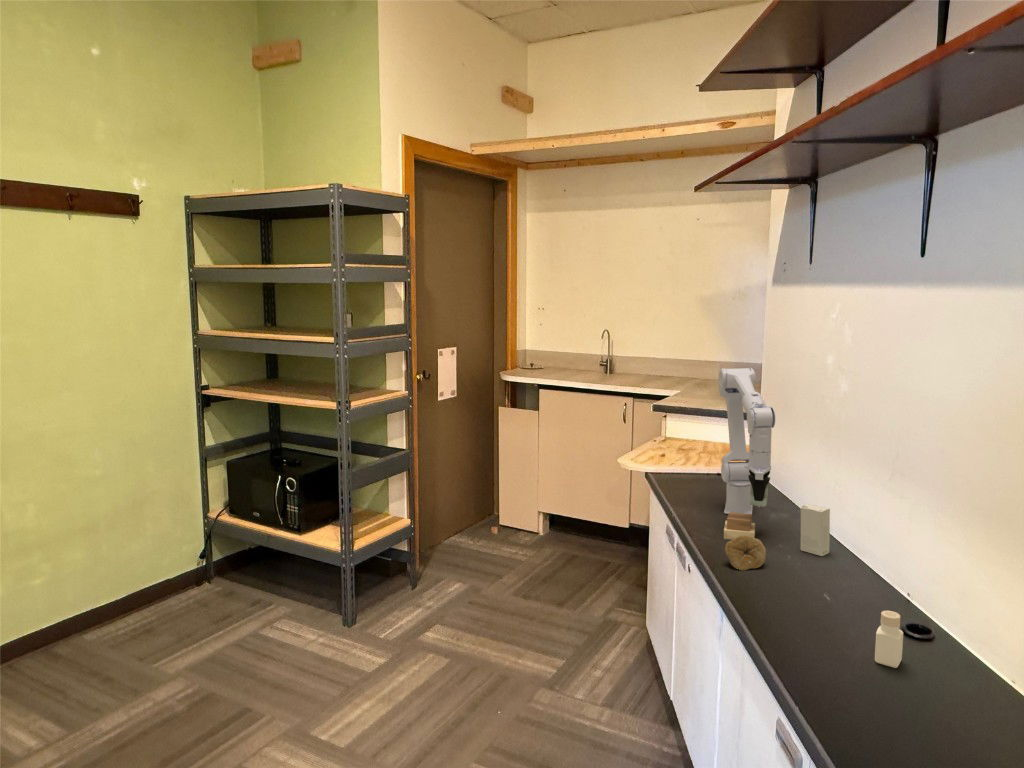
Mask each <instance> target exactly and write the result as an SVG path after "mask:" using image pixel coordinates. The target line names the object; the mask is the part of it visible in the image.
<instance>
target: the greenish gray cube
mask: <svg viewBox="0 0 1024 768" xmlns="http://www.w3.org/2000/svg"><path fill="white" fill-rule="evenodd" d="M768 487H769V485H768V484H767V486H766V489H765V494H764V498H763V501H755V500H754V495H753V489H752V485H751V487H750V505H753V506H755V507H756V506H757V507H762V508H763V507H765V508H766V506H767V504H768V493H769V491H768V490H769V488H768Z"/></svg>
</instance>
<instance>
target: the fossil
mask: <svg viewBox="0 0 1024 768" xmlns="http://www.w3.org/2000/svg"><path fill="white" fill-rule="evenodd" d="M724 551H725V555H726V557H727V558H728V561H729V563H730V565H731V566H732V567H733V568H734V569H735V570H736V569H737V570H738V569H739V570H738V571H748V570H749V569H757V568H760V567H761V566H762V565H763V564H764V563H765V562H766V557H767V556H766V555H767V553H766V552H767V549H766V547H765V546H764V544H763V542H762V541H761V540H760V539H759V538H753V537H751V536H742V535H741V536H739V537H737V538H735V539H734V540H729V541H727V542H726V544H725V547H724Z"/></svg>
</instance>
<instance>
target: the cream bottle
mask: <svg viewBox="0 0 1024 768" xmlns="http://www.w3.org/2000/svg"><path fill="white" fill-rule="evenodd" d="M880 614H881V615H880V625H879V626H878V628H877V630H876V632H875V646H874V648H875V649H874V661H875V662H876V664H880V665H883V666H887V667H890V668H893V669H897V668H898V667H899V666H900V664H901V661H902V659H903V646H904V632H903V630H901V629H900V626H901V614H899V612H896V611H892V610H882V611H881V612H880Z"/></svg>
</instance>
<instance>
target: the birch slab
mask: <svg viewBox="0 0 1024 768" xmlns="http://www.w3.org/2000/svg"><path fill="white" fill-rule="evenodd" d="M741 535H742V536H751V537H753V538H755V535H756V523H755V522H751V528H750V532H749V531H740V530H730V529H727V520H725V521H724V528H723V539H724V540H730V541H732V540H734V539H735V538H737V537H739V536H741Z"/></svg>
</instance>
